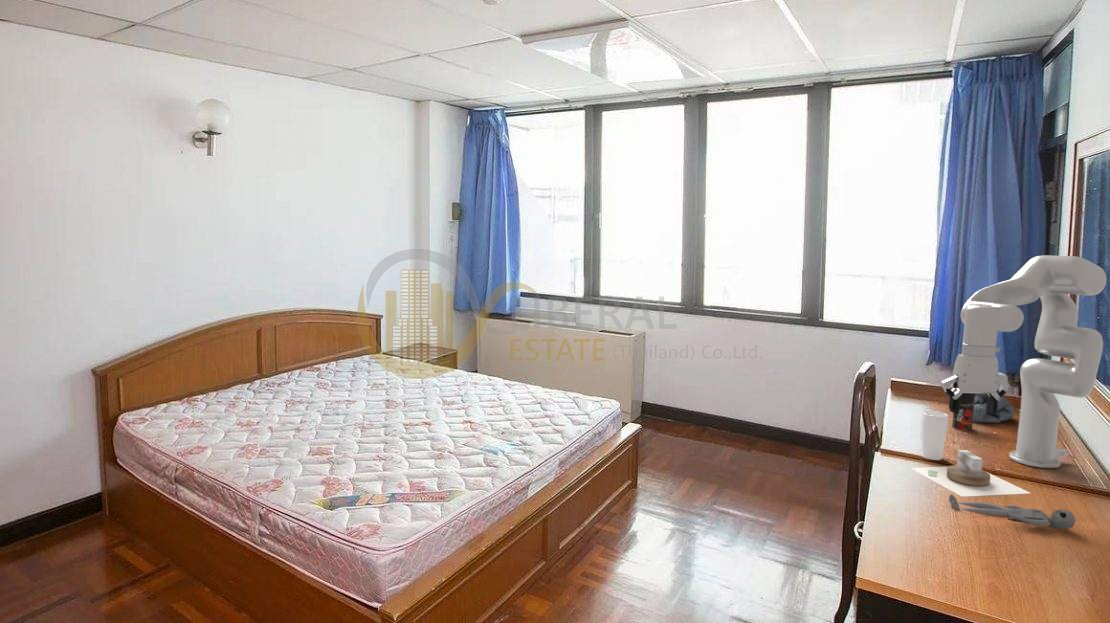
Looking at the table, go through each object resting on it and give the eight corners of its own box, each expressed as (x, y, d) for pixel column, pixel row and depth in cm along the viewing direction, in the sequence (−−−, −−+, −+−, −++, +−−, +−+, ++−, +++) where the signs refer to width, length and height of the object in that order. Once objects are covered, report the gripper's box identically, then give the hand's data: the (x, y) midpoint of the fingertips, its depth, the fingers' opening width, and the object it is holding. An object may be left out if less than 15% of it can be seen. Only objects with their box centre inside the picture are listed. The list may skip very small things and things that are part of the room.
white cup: (947, 466, 190) (952, 417, 188) (922, 464, 192) (927, 415, 190) (939, 458, 197) (943, 411, 195) (915, 456, 198) (919, 409, 196)
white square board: (972, 470, 187) (972, 464, 187) (1030, 498, 167) (1031, 492, 167) (909, 473, 185) (909, 467, 184) (961, 502, 165) (962, 495, 165)
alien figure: (948, 489, 164) (1070, 505, 153) (947, 507, 164) (1069, 524, 153) (952, 501, 156) (1080, 518, 145) (951, 520, 157) (1079, 538, 146)
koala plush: (949, 410, 251) (954, 361, 249) (999, 412, 249) (1004, 363, 246) (971, 423, 234) (976, 371, 232) (1025, 426, 232) (1030, 373, 229)
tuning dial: (998, 486, 171) (1000, 461, 170) (959, 485, 171) (962, 460, 170) (967, 467, 185) (969, 444, 184) (931, 466, 185) (933, 443, 184)
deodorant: (971, 427, 229) (975, 386, 227) (971, 431, 224) (975, 389, 222) (952, 424, 232) (955, 384, 230) (952, 428, 227) (955, 387, 225)
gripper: (1002, 349, 175) (996, 410, 177) (937, 347, 176) (932, 408, 178) (1021, 354, 167) (1014, 417, 170) (952, 352, 168) (947, 416, 171)
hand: (972, 413), depth 174 cm, fingers open, 9 cm apart
